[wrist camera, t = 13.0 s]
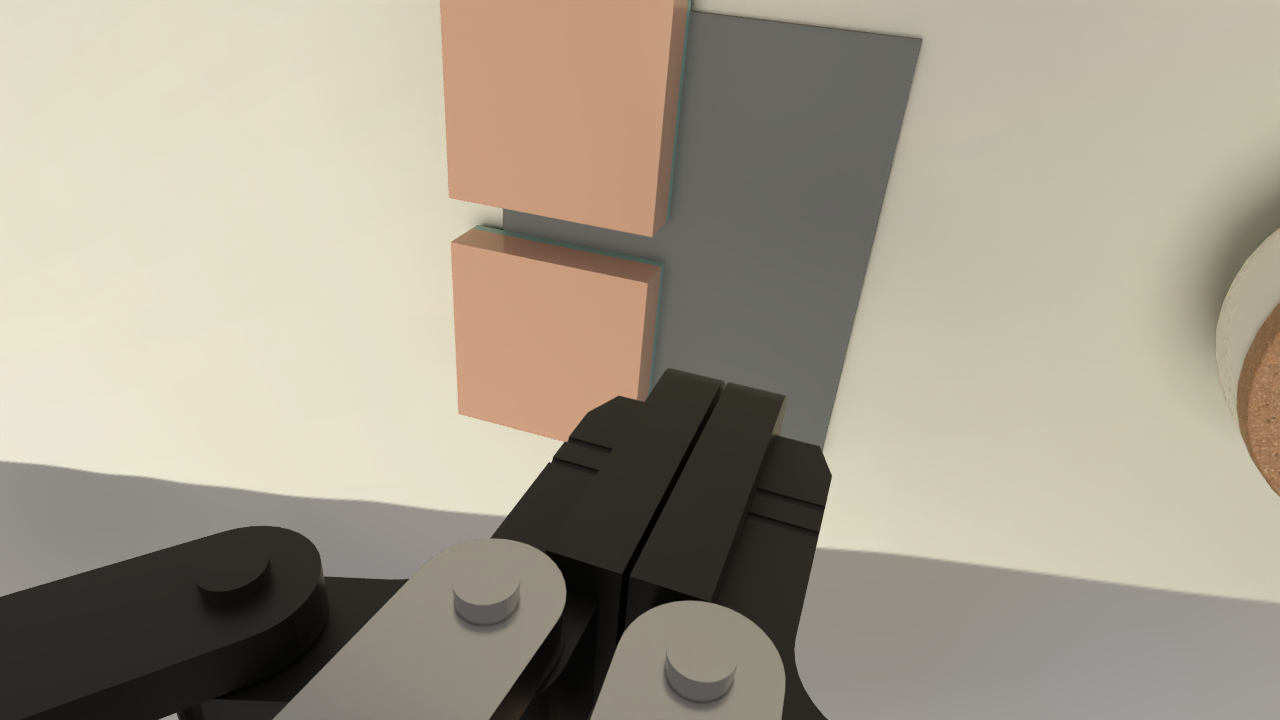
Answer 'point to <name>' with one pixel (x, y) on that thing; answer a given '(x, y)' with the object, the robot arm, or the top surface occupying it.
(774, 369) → the mat
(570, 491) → the robot arm
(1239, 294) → the lidded jar
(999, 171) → the top surface
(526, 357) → the tile
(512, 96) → the tile
